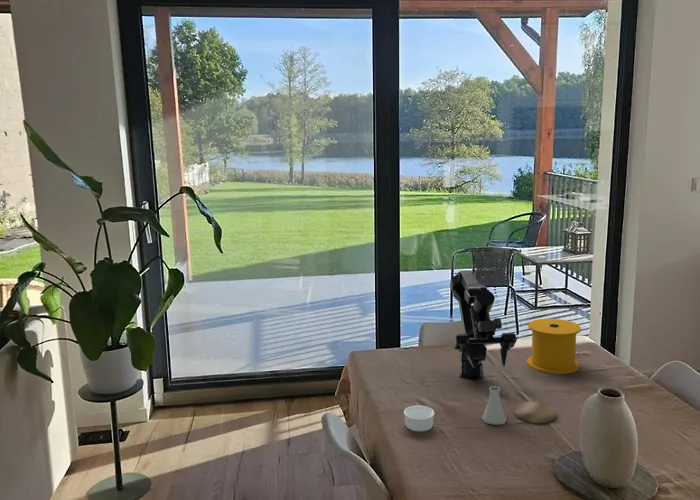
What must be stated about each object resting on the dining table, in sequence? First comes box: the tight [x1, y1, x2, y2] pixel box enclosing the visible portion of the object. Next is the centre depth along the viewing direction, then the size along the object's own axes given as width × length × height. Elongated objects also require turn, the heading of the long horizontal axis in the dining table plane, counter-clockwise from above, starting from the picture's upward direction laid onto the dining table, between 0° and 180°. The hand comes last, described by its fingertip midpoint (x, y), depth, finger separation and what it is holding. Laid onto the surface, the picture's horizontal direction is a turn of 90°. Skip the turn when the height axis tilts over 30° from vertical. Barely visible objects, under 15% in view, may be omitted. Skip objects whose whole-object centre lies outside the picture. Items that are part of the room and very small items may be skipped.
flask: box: [481, 385, 508, 426], centre depth 171 cm, size 7×7×10 cm
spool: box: [526, 318, 582, 375], centre depth 211 cm, size 18×18×15 cm
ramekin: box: [403, 405, 435, 433], centre depth 169 cm, size 9×9×4 cm
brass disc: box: [513, 401, 557, 424], centre depth 174 cm, size 12×12×1 cm
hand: (489, 366), depth 177 cm, fingers open, 9 cm apart
